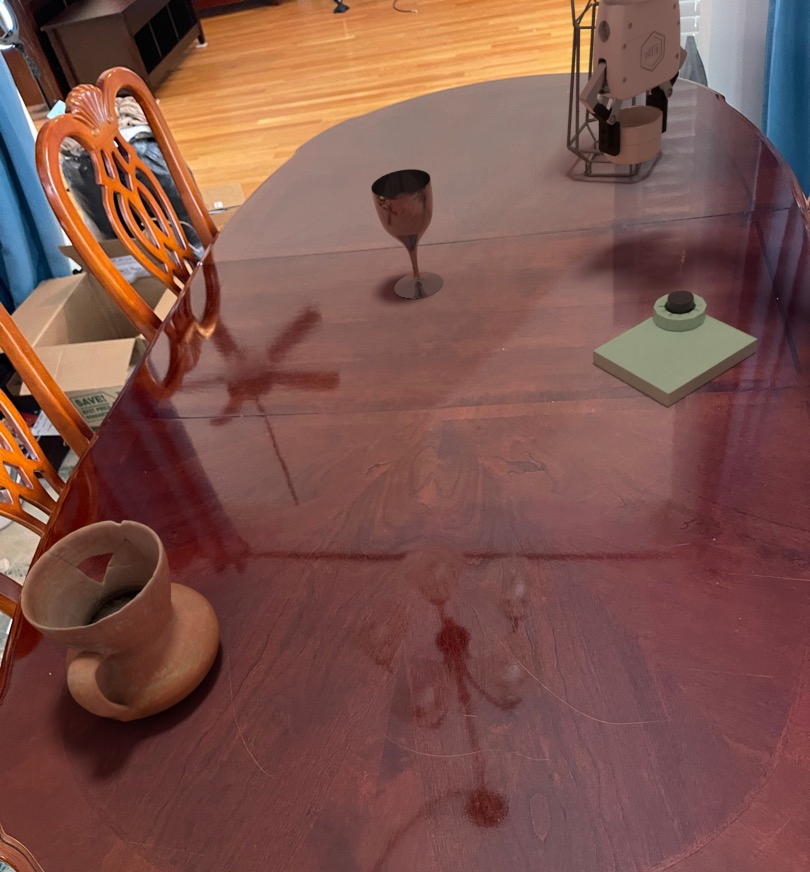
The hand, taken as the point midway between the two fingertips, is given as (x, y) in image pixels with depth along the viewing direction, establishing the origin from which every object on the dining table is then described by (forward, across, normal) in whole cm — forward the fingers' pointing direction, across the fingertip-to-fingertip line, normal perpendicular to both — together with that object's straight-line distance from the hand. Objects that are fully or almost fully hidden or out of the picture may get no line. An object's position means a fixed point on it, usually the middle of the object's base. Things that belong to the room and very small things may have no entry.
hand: (632, 140), depth 103 cm
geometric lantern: (+15, +18, +22) cm, 32 cm away
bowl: (+2, 0, 0) cm, 2 cm away
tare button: (+12, -9, -18) cm, 24 cm away
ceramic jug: (+16, -82, -22) cm, 86 cm away
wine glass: (+15, -25, +16) cm, 34 cm away
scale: (+15, -14, -22) cm, 30 cm away
